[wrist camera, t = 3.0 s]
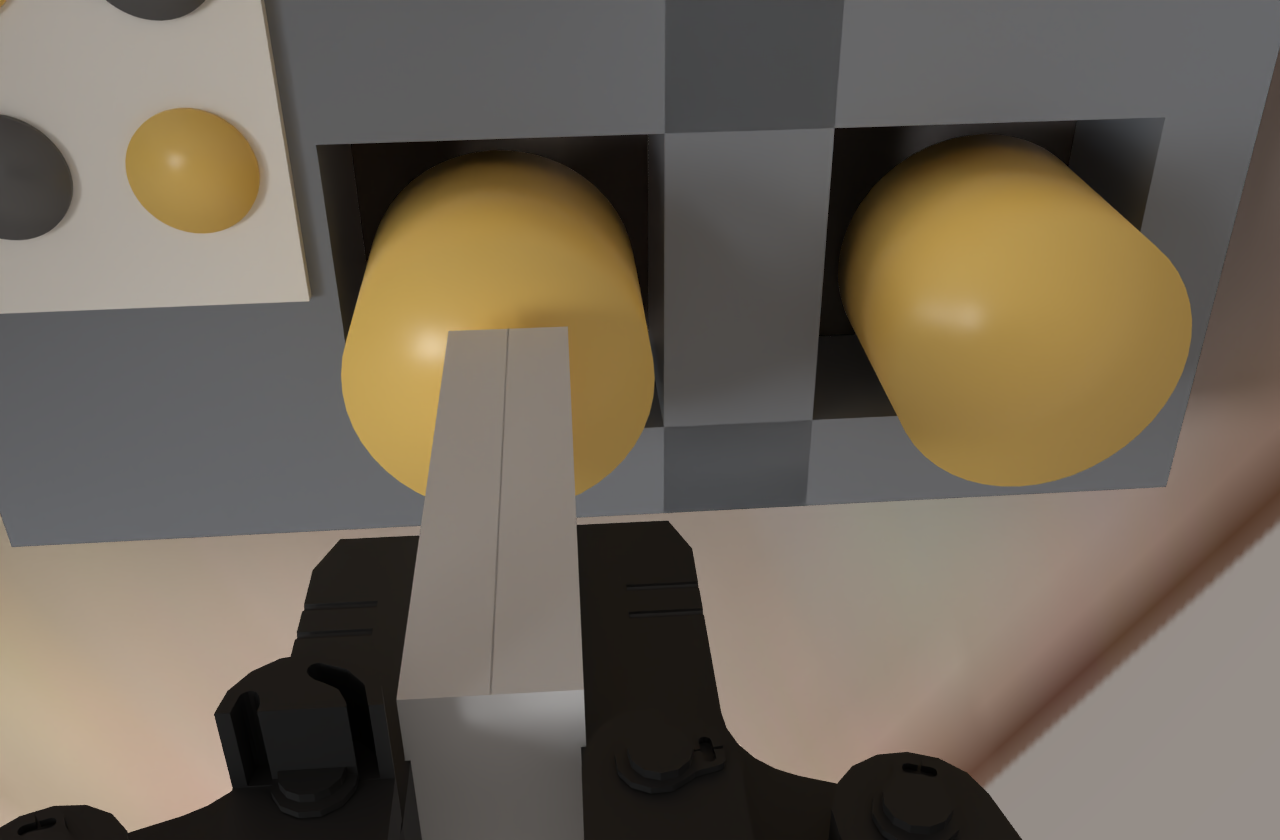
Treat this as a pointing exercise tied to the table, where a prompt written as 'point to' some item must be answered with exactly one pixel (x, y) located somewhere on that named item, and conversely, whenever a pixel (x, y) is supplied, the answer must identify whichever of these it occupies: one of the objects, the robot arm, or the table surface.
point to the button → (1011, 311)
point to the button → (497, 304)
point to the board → (531, 108)
